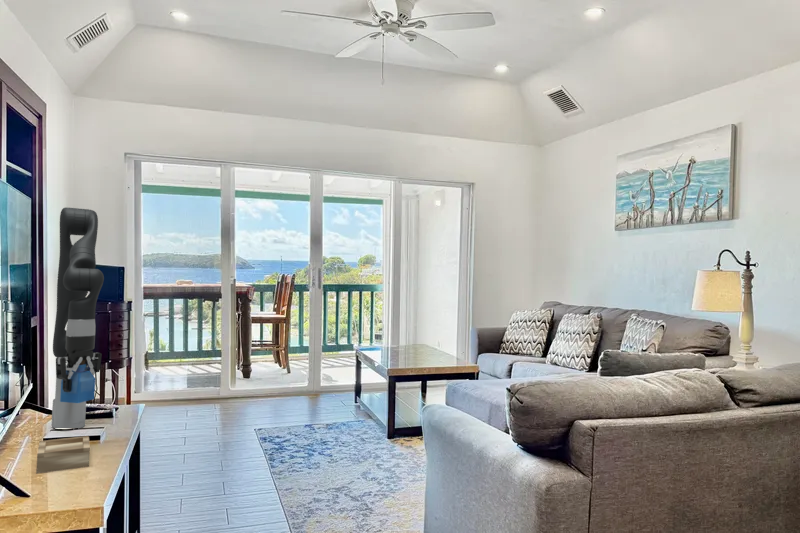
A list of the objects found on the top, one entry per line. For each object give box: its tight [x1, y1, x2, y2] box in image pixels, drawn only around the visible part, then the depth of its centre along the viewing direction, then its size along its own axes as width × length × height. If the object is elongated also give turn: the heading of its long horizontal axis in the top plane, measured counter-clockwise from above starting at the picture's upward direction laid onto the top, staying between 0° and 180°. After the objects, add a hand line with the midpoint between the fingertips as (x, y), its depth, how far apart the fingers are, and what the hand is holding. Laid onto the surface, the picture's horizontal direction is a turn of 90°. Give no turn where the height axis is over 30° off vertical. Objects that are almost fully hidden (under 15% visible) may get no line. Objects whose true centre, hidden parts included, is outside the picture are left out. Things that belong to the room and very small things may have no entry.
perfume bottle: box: [60, 360, 96, 403], centre depth 158 cm, size 6×6×12 cm
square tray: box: [35, 435, 91, 474], centre depth 147 cm, size 12×12×5 cm
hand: (77, 389), depth 158 cm, fingers closed on perfume bottle, 6 cm apart
